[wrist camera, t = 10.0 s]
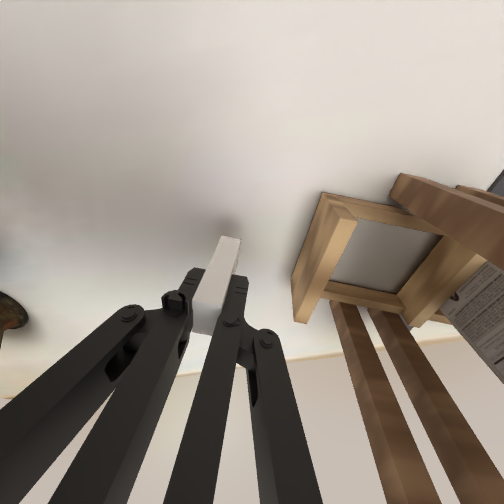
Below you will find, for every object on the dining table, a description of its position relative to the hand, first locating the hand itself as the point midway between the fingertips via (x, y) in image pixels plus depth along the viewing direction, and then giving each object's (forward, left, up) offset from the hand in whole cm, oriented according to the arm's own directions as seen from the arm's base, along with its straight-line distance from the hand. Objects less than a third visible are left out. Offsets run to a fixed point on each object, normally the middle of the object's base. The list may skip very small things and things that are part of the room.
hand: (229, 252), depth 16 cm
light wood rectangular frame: (+1, +20, -6) cm, 21 cm away
